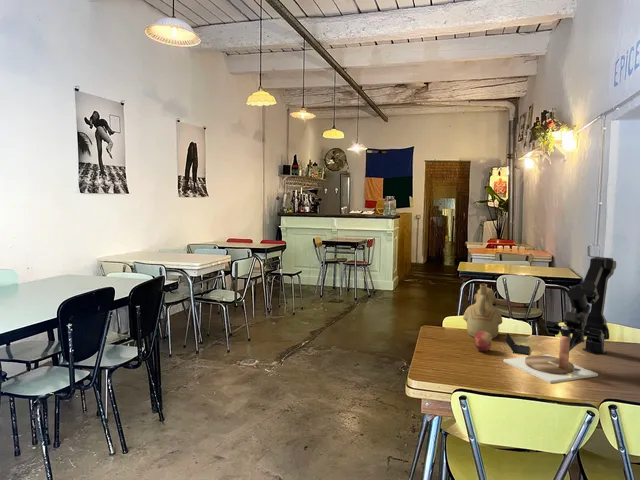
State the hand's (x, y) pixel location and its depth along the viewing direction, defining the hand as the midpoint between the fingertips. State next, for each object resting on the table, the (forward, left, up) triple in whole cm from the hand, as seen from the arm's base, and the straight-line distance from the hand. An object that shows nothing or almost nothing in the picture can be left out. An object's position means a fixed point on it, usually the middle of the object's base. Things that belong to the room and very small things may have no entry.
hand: (566, 351), depth 163 cm
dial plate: (+2, -5, -8) cm, 10 cm away
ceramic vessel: (-3, -48, -8) cm, 49 cm away
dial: (+2, -5, -7) cm, 9 cm away
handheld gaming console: (-3, -26, -8) cm, 28 cm away
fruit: (+12, -29, -8) cm, 33 cm away
